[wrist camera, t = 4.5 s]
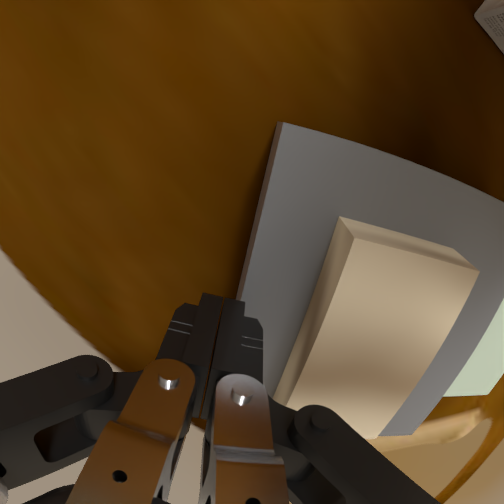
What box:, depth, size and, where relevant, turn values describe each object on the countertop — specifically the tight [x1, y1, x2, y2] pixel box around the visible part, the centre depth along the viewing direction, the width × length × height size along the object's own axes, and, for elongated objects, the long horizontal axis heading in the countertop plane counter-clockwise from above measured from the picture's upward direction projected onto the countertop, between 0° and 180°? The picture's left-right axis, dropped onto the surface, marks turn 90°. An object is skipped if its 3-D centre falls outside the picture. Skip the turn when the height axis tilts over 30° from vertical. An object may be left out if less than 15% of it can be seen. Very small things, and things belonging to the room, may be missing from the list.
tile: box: [273, 216, 480, 439], centre depth 11 cm, size 9×5×2 cm, turn 168°
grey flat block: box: [236, 122, 504, 436], centre depth 14 cm, size 14×12×4 cm
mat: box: [443, 299, 504, 396], centre depth 17 cm, size 14×9×1 cm, turn 168°
